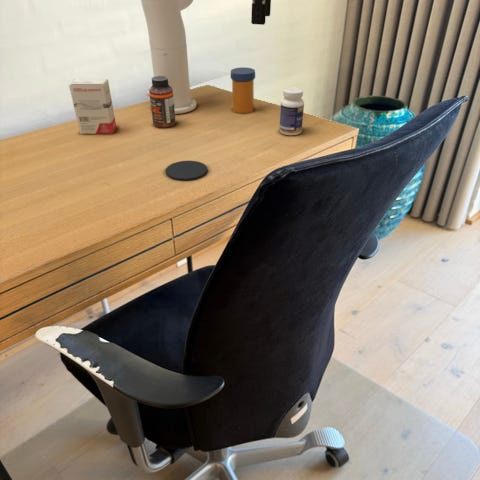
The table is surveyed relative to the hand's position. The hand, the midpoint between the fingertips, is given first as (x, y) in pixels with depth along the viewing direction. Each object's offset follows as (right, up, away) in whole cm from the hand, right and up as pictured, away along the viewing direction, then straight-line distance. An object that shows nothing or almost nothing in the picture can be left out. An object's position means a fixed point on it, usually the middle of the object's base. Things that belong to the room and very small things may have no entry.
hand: (261, 19), depth 114 cm
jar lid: (-4, -6, +13) cm, 15 cm away
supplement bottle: (-25, -21, +11) cm, 34 cm away
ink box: (-41, -23, +8) cm, 48 cm away
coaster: (-17, -40, -10) cm, 44 cm away
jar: (-4, -13, +19) cm, 23 cm away
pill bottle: (+8, -24, +7) cm, 27 cm away
